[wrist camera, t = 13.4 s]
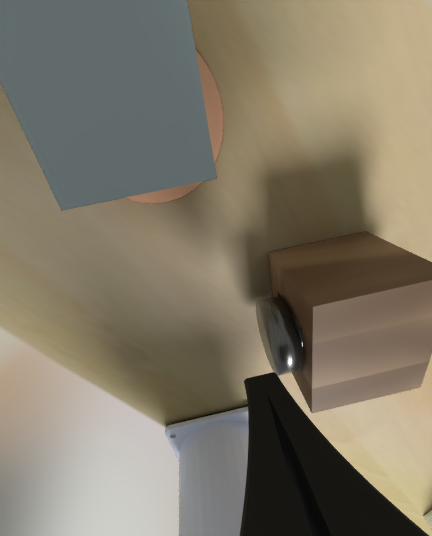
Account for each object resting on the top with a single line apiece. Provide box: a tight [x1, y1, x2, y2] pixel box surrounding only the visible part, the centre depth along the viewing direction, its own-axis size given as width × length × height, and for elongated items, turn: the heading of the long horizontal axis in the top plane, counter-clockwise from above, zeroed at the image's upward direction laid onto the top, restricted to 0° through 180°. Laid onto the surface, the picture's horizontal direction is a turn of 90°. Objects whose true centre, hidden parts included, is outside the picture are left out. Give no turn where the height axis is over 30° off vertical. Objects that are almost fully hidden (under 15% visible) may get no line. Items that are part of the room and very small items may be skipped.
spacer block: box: [0, 0, 217, 211], centre depth 8 cm, size 4×4×6 cm
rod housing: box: [269, 231, 432, 413], centre depth 14 cm, size 7×6×6 cm
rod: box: [256, 296, 304, 376], centre depth 14 cm, size 4×8×4 cm, turn 100°
